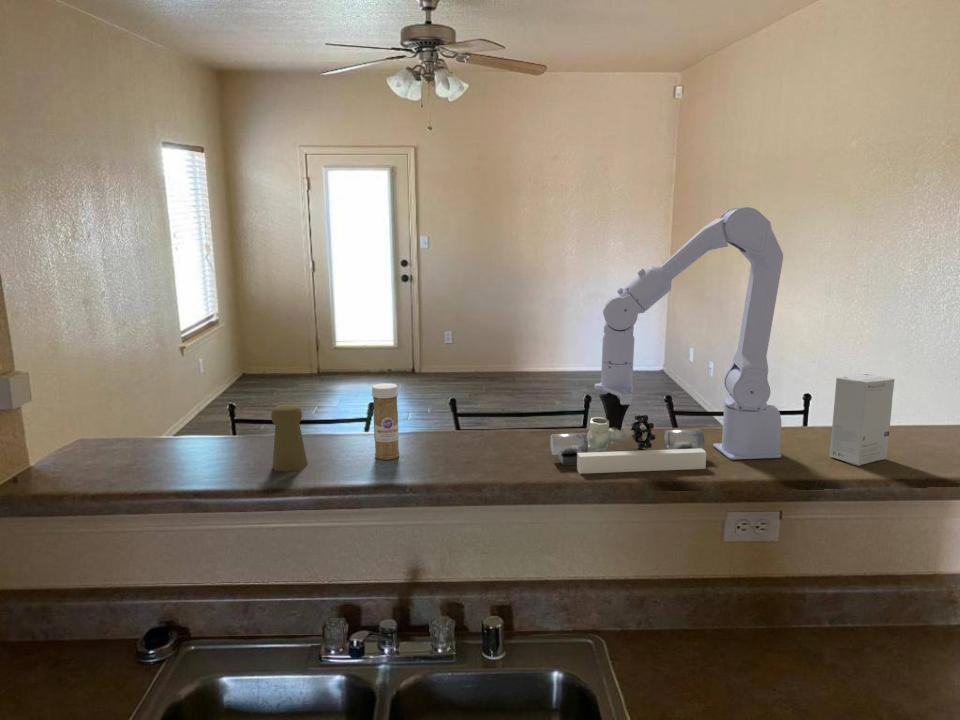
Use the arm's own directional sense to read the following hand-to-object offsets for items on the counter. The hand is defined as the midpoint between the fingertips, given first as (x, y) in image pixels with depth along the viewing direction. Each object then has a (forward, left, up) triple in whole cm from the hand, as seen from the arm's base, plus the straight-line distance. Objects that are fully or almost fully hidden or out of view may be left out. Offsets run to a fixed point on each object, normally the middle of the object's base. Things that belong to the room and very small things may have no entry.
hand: (614, 432), depth 131 cm
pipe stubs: (0, +7, -3) cm, 7 cm away
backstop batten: (-1, +12, -3) cm, 13 cm away
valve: (0, +3, -3) cm, 4 cm away
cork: (+60, +4, -3) cm, 60 cm away
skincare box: (-41, +11, -3) cm, 43 cm away
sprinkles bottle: (+43, +1, -3) cm, 43 cm away
